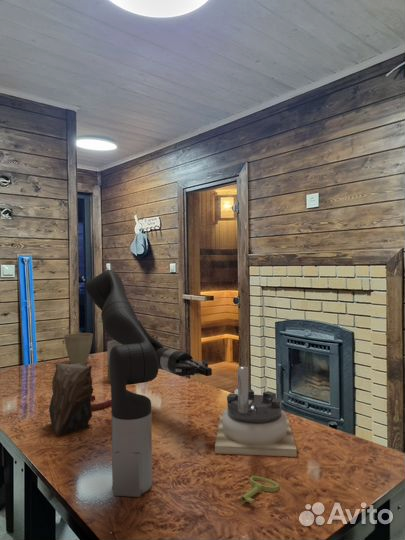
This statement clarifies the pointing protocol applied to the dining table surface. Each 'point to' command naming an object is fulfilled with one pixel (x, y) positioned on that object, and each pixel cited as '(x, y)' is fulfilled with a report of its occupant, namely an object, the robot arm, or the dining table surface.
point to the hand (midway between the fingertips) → (209, 372)
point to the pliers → (99, 404)
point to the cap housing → (255, 430)
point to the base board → (276, 449)
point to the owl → (71, 398)
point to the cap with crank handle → (252, 403)
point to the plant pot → (78, 347)
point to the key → (259, 488)
